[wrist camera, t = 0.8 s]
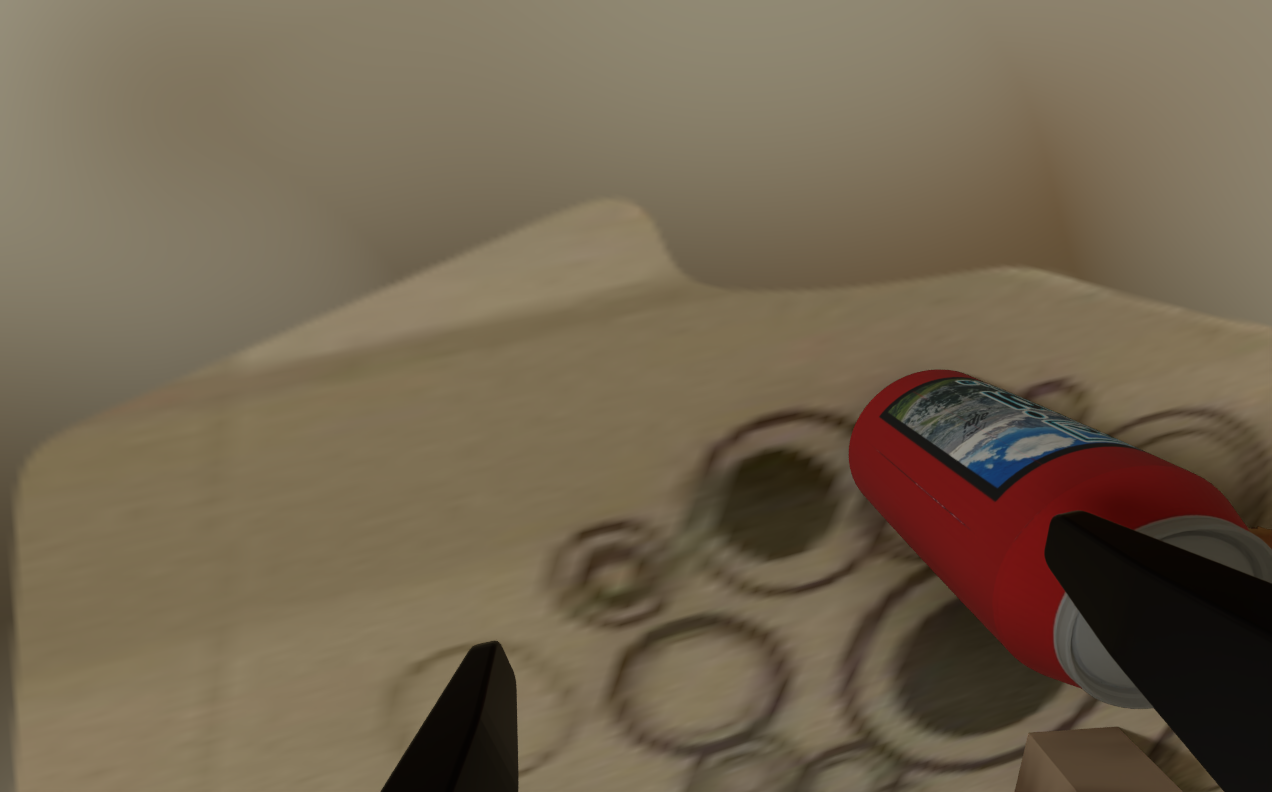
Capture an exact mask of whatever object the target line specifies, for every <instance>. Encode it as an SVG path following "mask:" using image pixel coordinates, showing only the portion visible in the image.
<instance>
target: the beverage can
mask: <svg viewBox="0 0 1272 792" xmlns="http://www.w3.org/2000/svg"><path fill="white" fill-rule="evenodd" d="M849 464H850V469H851V473H852V476H853V479H854V481H855V483H856V485H857V487H858V488H859V490H860V491H861V492H862V494H863V495H864V496H865V497H866V498H867V499H868V500H869V501H870V503H871V504H872V505H873V506H874V507H875V508H876V509H877V510H878V511H879V513H880V514H881V515H882V516H883V517H884V518H885V519H886V520H887V522H888V523H889V524H890V525H891V526H892V527H893V528H894V529H895V530H896V531H897V532H898V534H899V535H900V536H901V537H902V538H903V539H904V540H905V541H906V542H907V543H908V544H909V546H910V547H911V548H912V549H913V550H914V551H915V552H916V553H917V554H918V555H919V556H920V557H921V559H922V560H923V561H924V562H925V563H926V564H927V565H928V566H929V567H930V568H931V569H932V570H933V571H934V573H935V574H936V575H937V576H938V577H939V578H940V579H941V580H942V581H943V582H944V583H945V584H946V585H947V586H948V588H949V589H950V590H951V591H952V592H953V593H954V594H955V595H956V596H957V597H958V598H959V599H960V600H961V601H962V602H963V603H964V605H965V606H966V607H967V608H968V609H969V610H970V611H971V612H972V613H973V614H974V615H975V616H976V617H977V618H978V619H979V620H980V621H981V622H982V623H983V624H984V626H985V627H986V628H987V629H988V630H989V631H990V632H991V633H992V634H993V635H994V636H995V637H996V638H997V639H998V640H999V641H1000V642H1001V643H1002V644H1003V645H1004V647H1005V648H1006V649H1007V650H1008V651H1009V652H1010V653H1011V654H1012V655H1013V656H1014V657H1015V658H1016V659H1018V660H1019V661H1020V662H1021V663H1023V664H1024V665H1026V666H1027V667H1029V668H1031V669H1033V670H1035V671H1036V672H1038V673H1040V674H1043V675H1045V676H1048V677H1050V678H1053V679H1056V680H1059V681H1062V682H1064V683H1067V684H1070V685H1073V686H1076V687H1078V688H1081V689H1083V690H1084V691H1086V692H1087V693H1088V694H1089V695H1091V696H1092V697H1094V698H1096V699H1098V700H1100V701H1102V702H1105V703H1107V704H1110V705H1113V706H1118V707H1123V708H1131V709H1149V708H1153V706H1152V705H1151V704H1150V703H1149V702H1148V700H1147V699H1146V698H1145V697H1144V696H1143V694H1142V693H1141V692H1140V691H1139V690H1138V688H1137V687H1136V686H1135V685H1134V684H1133V683H1132V681H1131V680H1130V679H1129V678H1128V677H1127V675H1126V674H1125V673H1124V672H1123V671H1122V669H1121V668H1120V667H1119V666H1118V664H1117V663H1116V662H1115V661H1114V659H1113V658H1112V657H1111V656H1110V654H1109V653H1108V652H1107V650H1106V649H1105V648H1104V646H1103V645H1102V644H1101V642H1100V641H1099V639H1098V638H1097V637H1096V635H1095V634H1094V632H1093V631H1092V629H1091V628H1090V626H1089V625H1088V624H1087V622H1086V621H1085V619H1084V618H1083V616H1082V615H1081V614H1080V612H1079V611H1078V609H1077V608H1076V606H1075V605H1074V603H1073V602H1072V601H1071V599H1070V598H1069V596H1068V595H1067V593H1066V592H1065V591H1064V589H1063V588H1062V586H1061V585H1060V583H1059V582H1058V580H1057V579H1056V578H1055V576H1054V575H1053V573H1052V572H1051V570H1050V569H1049V567H1048V565H1047V563H1046V560H1045V556H1044V549H1045V544H1046V539H1047V535H1048V530H1049V525H1050V521H1051V519H1052V518H1053V517H1054V516H1055V515H1058V514H1062V513H1067V512H1071V511H1076V510H1081V511H1085V512H1088V513H1091V514H1094V515H1096V516H1099V517H1101V518H1104V519H1107V520H1109V521H1112V522H1114V523H1117V524H1120V525H1122V526H1125V527H1127V528H1130V529H1133V530H1135V531H1138V532H1140V533H1143V534H1146V535H1148V536H1151V537H1153V538H1156V539H1159V540H1161V541H1164V542H1166V543H1169V544H1171V545H1174V546H1177V547H1179V548H1182V549H1184V550H1187V551H1190V552H1192V553H1195V554H1197V555H1200V556H1203V557H1205V558H1208V559H1210V560H1213V561H1216V562H1218V563H1221V564H1223V565H1226V566H1228V567H1231V568H1234V569H1236V570H1239V571H1241V572H1244V573H1247V574H1249V575H1252V576H1254V577H1257V578H1260V579H1262V580H1265V581H1267V582H1270V583H1272V549H1271V548H1270V547H1269V546H1268V545H1267V544H1266V543H1265V542H1264V541H1263V540H1262V539H1260V538H1259V537H1257V536H1256V535H1254V534H1253V533H1251V532H1250V531H1249V529H1248V528H1247V526H1246V525H1245V524H1244V522H1243V521H1242V519H1241V518H1240V517H1239V515H1238V514H1237V512H1236V511H1235V509H1234V508H1233V507H1232V505H1231V504H1230V502H1229V501H1228V500H1227V499H1226V497H1225V496H1224V495H1223V494H1222V493H1221V492H1220V491H1219V490H1218V489H1217V488H1216V487H1214V486H1213V485H1212V484H1211V483H1209V482H1208V481H1206V480H1205V479H1203V478H1202V477H1200V476H1198V475H1196V474H1194V473H1192V472H1189V471H1187V470H1185V469H1183V468H1180V467H1178V466H1176V465H1174V464H1171V463H1169V462H1167V461H1165V460H1163V459H1160V458H1158V457H1156V456H1154V455H1151V454H1149V453H1147V452H1145V451H1143V450H1140V449H1138V448H1136V447H1134V446H1131V445H1129V444H1127V443H1125V442H1123V441H1120V440H1118V439H1116V438H1114V437H1111V436H1109V435H1107V434H1104V433H1102V432H1100V431H1098V430H1095V429H1093V428H1091V427H1088V426H1086V425H1084V424H1082V423H1079V422H1077V421H1075V420H1072V419H1070V418H1068V417H1066V416H1063V415H1061V414H1059V413H1056V412H1054V411H1052V410H1049V409H1047V408H1045V407H1042V406H1040V405H1038V404H1035V403H1033V402H1031V401H1028V400H1026V399H1024V398H1021V397H1019V396H1017V395H1014V394H1012V393H1010V392H1007V391H1005V390H1002V389H1000V388H998V387H995V386H993V385H990V384H988V383H985V382H983V381H981V380H978V379H976V378H973V377H971V376H969V375H966V374H964V373H960V372H957V371H951V370H927V371H921V372H917V373H914V374H911V375H908V376H905V377H903V378H901V379H899V380H897V381H895V382H893V383H892V384H890V385H889V386H887V387H886V388H884V389H883V390H882V391H881V392H880V393H878V394H877V395H876V396H875V397H874V398H873V399H872V400H871V401H870V402H869V404H868V405H867V406H866V407H865V409H864V410H863V412H862V413H861V415H860V416H859V418H858V420H857V422H856V424H855V427H854V429H853V432H852V435H851V439H850V445H849Z"/></svg>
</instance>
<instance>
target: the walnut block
mask: <svg viewBox="0 0 1272 792" xmlns="http://www.w3.org/2000/svg"><path fill="white" fill-rule="evenodd" d="M1015 792H1183V791H1182V790H1181V789H1180V788H1179V787H1178V786H1177V785H1176V784H1175V783H1174V782H1173V781H1172V780H1171V779H1170V778H1169V777H1168V776H1167V775H1166V774H1165V773H1164V772H1163V771H1162V770H1161V769H1160V768H1159V767H1158V766H1157V765H1156V764H1155V763H1153V762H1152V761H1151V760H1150V759H1149V758H1148V757H1147V756H1146V755H1145V754H1144V753H1143V752H1142V751H1141V750H1140V749H1139V748H1138V747H1137V746H1136V745H1135V744H1134V743H1133V742H1132V741H1131V740H1130V739H1129V738H1128V737H1127V736H1126V735H1125V734H1124V733H1123V732H1122V731H1121V730H1120V729H1119V728H1118V727H1107V728H1092V729H1077V730H1062V731H1048V732H1033V733H1028V738H1027V742H1026V746H1025V750H1024V754H1023V759H1022V763H1021V767H1020V771H1019V775H1018V780H1017V784H1016V788H1015Z"/></svg>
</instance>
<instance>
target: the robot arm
mask: <svg viewBox="0 0 1272 792" xmlns="http://www.w3.org/2000/svg"><path fill="white" fill-rule="evenodd" d="M1044 556H1045V560H1046V563H1047V565H1048V567H1049V569H1050V570H1051V572H1052V573H1053V575H1054V576H1055V578H1056V579H1057V580H1058V582H1059V583H1060V585H1061V586H1062V588H1063V589H1064V591H1065V592H1066V593H1067V595H1068V596H1069V598H1070V599H1071V601H1072V602H1073V603H1074V605H1075V606H1076V608H1077V609H1078V611H1079V612H1080V614H1081V615H1082V616H1083V618H1084V619H1085V621H1086V622H1087V624H1088V625H1089V626H1090V628H1091V629H1092V631H1093V632H1094V634H1095V635H1096V637H1097V638H1098V639H1099V641H1100V642H1101V644H1102V645H1103V646H1104V648H1105V649H1106V650H1107V652H1108V653H1109V654H1110V656H1111V657H1112V658H1113V659H1114V661H1115V662H1116V663H1117V664H1118V666H1119V667H1120V668H1121V669H1122V671H1123V672H1124V673H1125V674H1126V675H1127V677H1128V678H1129V679H1130V680H1131V681H1132V683H1133V684H1134V685H1135V686H1136V687H1137V688H1138V690H1139V691H1140V692H1141V693H1142V694H1143V696H1144V697H1145V698H1146V699H1147V700H1148V702H1149V703H1150V704H1151V705H1152V706H1153V708H1154V709H1155V710H1156V711H1157V712H1158V713H1159V715H1160V716H1161V717H1162V718H1163V719H1164V721H1165V722H1166V723H1167V724H1168V725H1169V727H1170V728H1171V729H1172V730H1173V731H1174V733H1175V734H1176V735H1177V736H1178V737H1179V738H1180V740H1181V741H1182V742H1183V743H1184V744H1185V746H1186V747H1187V748H1188V749H1189V750H1190V752H1191V753H1192V754H1193V755H1194V756H1195V758H1196V759H1197V760H1198V761H1199V762H1200V763H1201V765H1202V766H1203V767H1204V768H1205V769H1206V771H1207V772H1208V773H1209V774H1210V775H1211V777H1212V778H1213V779H1214V780H1215V781H1216V783H1217V784H1218V785H1219V786H1220V787H1221V788H1222V790H1223V791H1224V792H1272V583H1270V582H1267V581H1265V580H1262V579H1260V578H1257V577H1254V576H1252V575H1249V574H1247V573H1244V572H1241V571H1239V570H1236V569H1234V568H1231V567H1228V566H1226V565H1223V564H1221V563H1218V562H1216V561H1213V560H1210V559H1208V558H1205V557H1203V556H1200V555H1197V554H1195V553H1192V552H1190V551H1187V550H1184V549H1182V548H1179V547H1177V546H1174V545H1171V544H1169V543H1166V542H1164V541H1161V540H1159V539H1156V538H1153V537H1151V536H1148V535H1146V534H1143V533H1140V532H1138V531H1135V530H1133V529H1130V528H1127V527H1125V526H1122V525H1120V524H1117V523H1114V522H1112V521H1109V520H1107V519H1104V518H1101V517H1099V516H1096V515H1094V514H1091V513H1088V512H1085V511H1081V510H1076V511H1071V512H1067V513H1062V514H1058V515H1055V516H1054V517H1053V518H1052V519H1051V521H1050V525H1049V530H1048V535H1047V539H1046V544H1045V549H1044ZM381 792H518V736H517V690H516V679H515V675H514V672H513V669H512V667H511V665H510V663H509V661H508V659H507V656H506V654H505V652H504V650H503V648H502V646H501V644H500V643H499V642H498V641H490V642H486V643H481V644H477V645H474V646H473V647H472V648H471V649H470V650H469V651H468V653H467V655H466V656H465V658H464V659H463V661H462V663H461V664H460V666H459V667H458V669H457V670H456V672H455V674H454V675H453V677H452V678H451V680H450V682H449V683H448V685H447V686H446V688H445V690H444V691H443V693H442V694H441V696H440V698H439V699H438V701H437V702H436V704H435V706H434V707H433V709H432V710H431V712H430V713H429V715H428V717H427V718H426V720H425V721H424V723H423V725H422V726H421V728H420V729H419V731H418V733H417V734H416V736H415V737H414V739H413V741H412V742H411V744H410V745H409V747H408V749H407V750H406V752H405V753H404V755H403V756H402V758H401V760H400V761H399V763H398V764H397V766H396V768H395V769H394V771H393V772H392V774H391V776H390V777H389V779H388V780H387V782H386V784H385V785H384V787H383V788H382V790H381Z"/></svg>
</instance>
